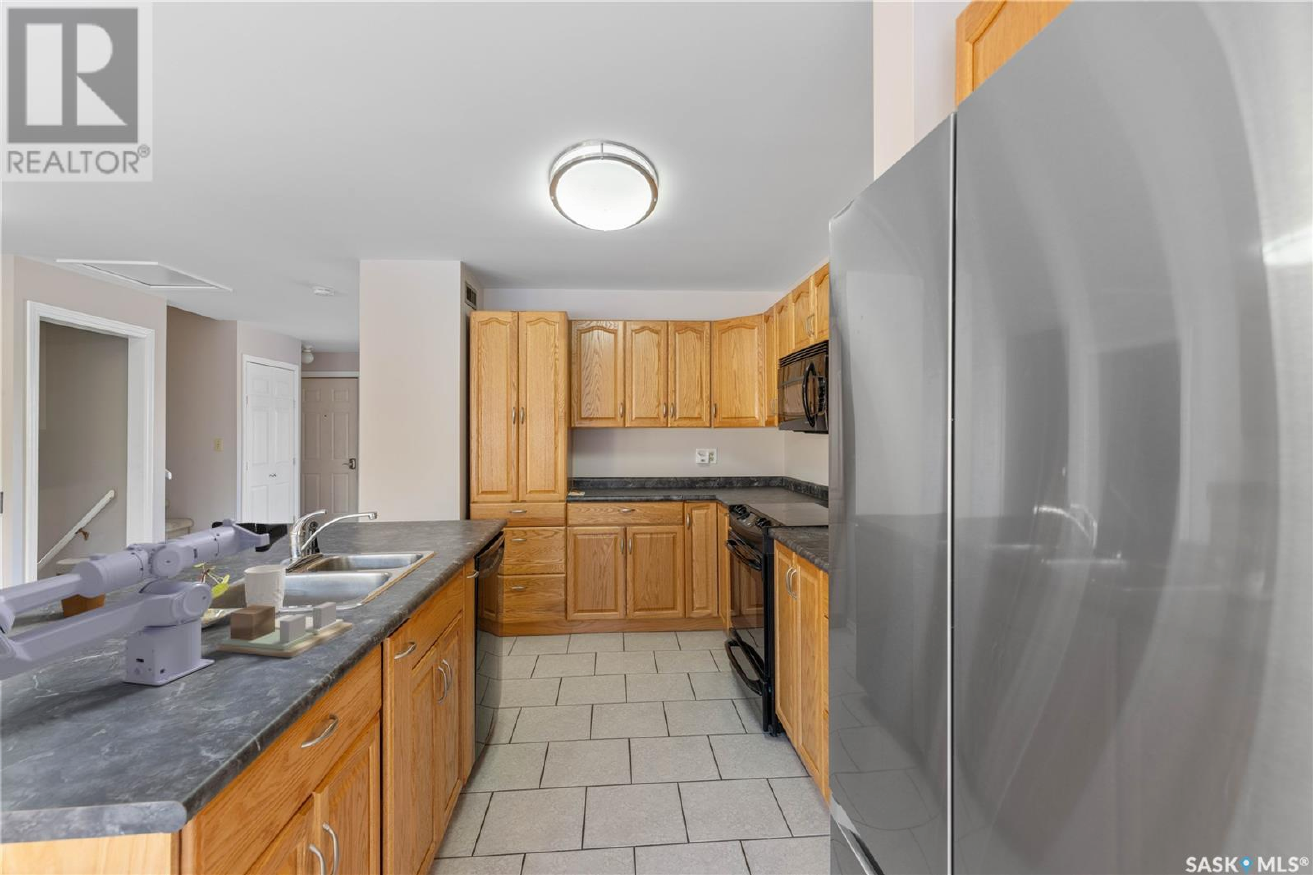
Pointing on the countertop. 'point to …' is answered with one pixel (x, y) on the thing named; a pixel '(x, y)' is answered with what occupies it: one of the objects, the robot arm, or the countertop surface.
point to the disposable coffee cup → (77, 602)
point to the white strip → (309, 625)
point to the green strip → (279, 635)
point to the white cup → (265, 585)
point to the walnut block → (252, 622)
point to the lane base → (294, 649)
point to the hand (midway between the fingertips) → (270, 528)
